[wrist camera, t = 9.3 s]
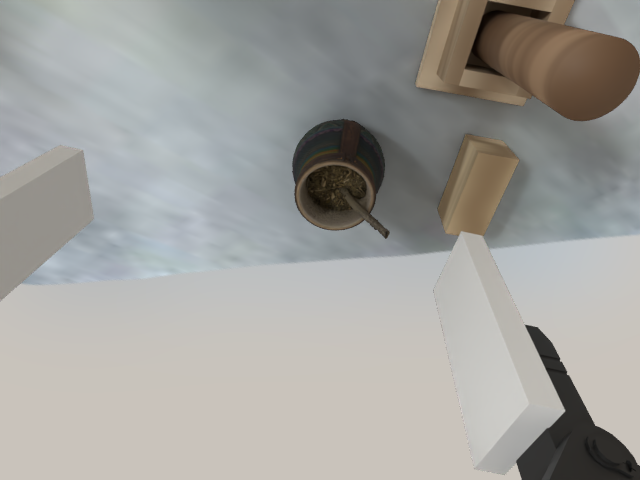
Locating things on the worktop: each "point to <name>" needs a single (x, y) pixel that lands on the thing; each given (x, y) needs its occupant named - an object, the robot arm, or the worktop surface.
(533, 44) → the dowel
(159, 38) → the worktop surface
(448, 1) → the socket block
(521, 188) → the worktop surface
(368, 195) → the mate gourd
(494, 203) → the block
